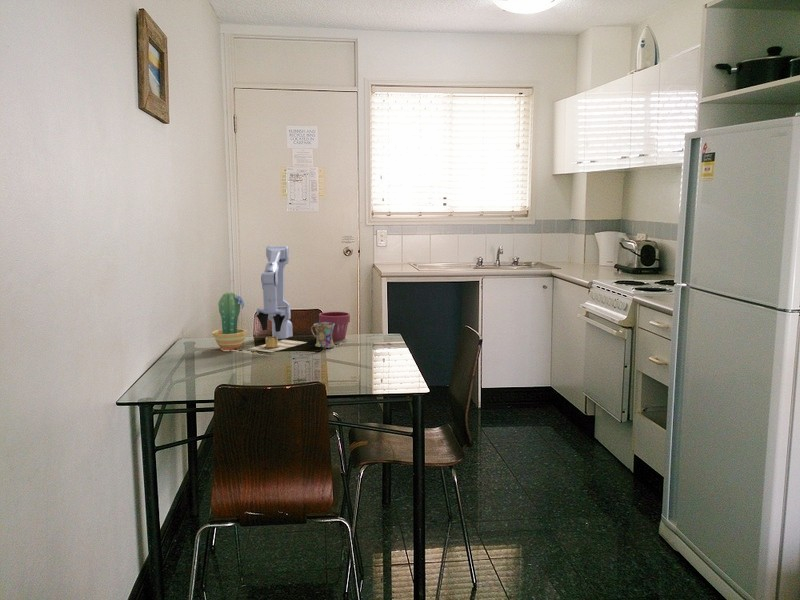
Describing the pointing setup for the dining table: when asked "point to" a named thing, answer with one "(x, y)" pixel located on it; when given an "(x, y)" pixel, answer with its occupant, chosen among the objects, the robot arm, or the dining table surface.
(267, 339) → the brass collar
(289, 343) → the post board
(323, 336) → the mug
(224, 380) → the dining table surface
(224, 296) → the potted cactus
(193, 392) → the dining table surface
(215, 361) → the dining table surface
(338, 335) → the plant pot
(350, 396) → the dining table surface
